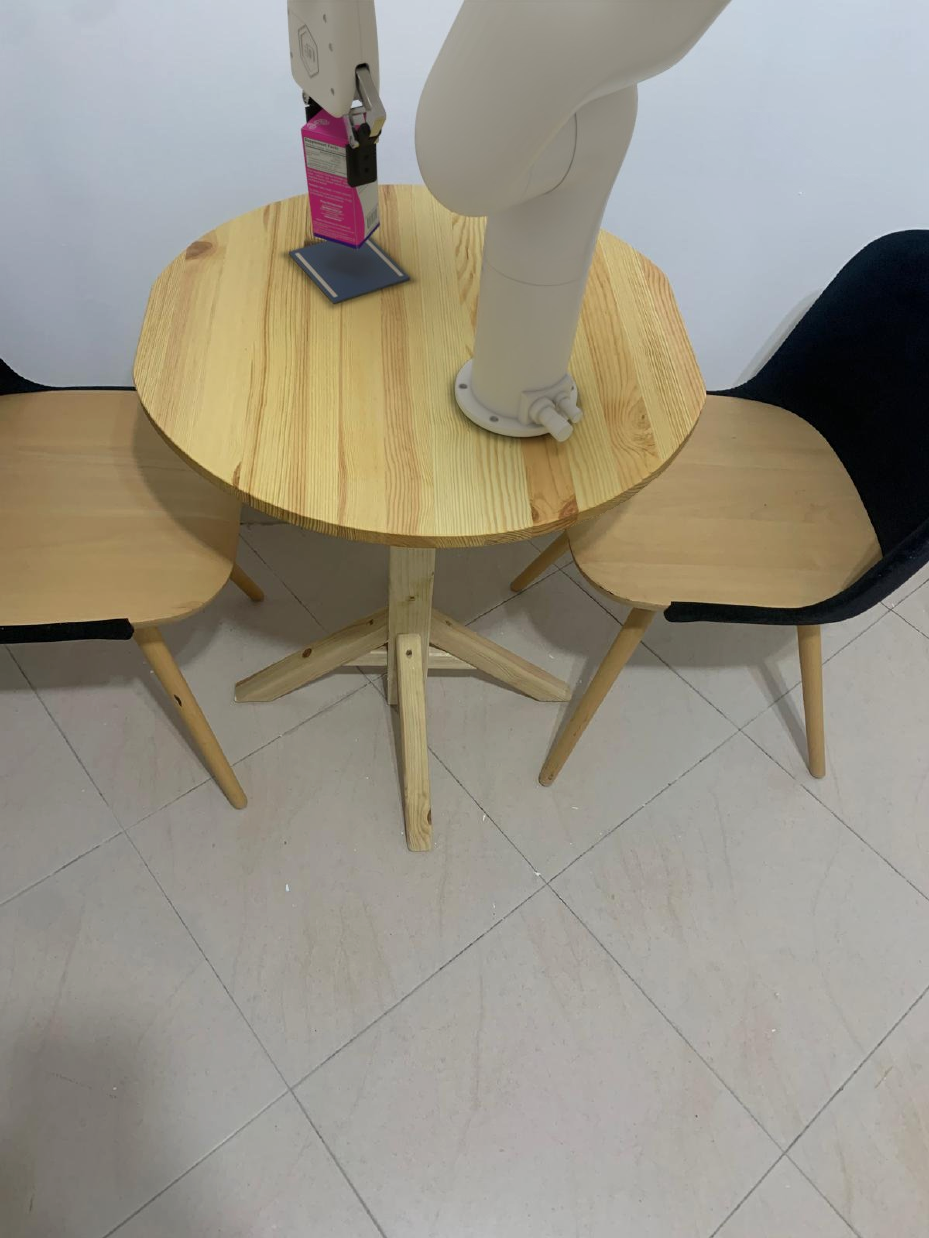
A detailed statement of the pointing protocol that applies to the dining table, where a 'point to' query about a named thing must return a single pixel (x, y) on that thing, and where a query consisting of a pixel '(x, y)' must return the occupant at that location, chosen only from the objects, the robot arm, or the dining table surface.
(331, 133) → the supplement box
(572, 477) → the dining table surface
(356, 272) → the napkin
